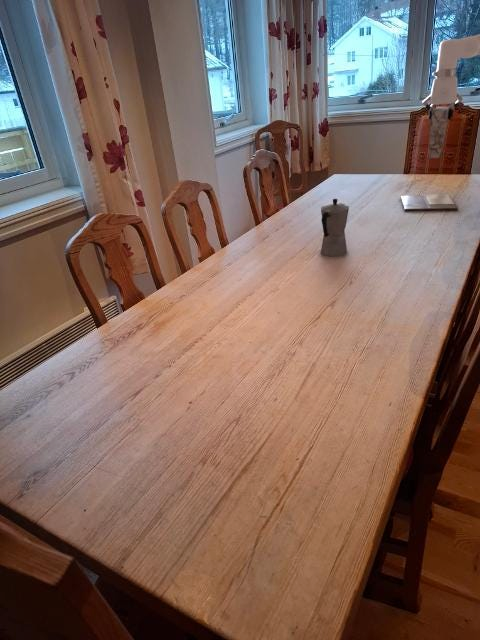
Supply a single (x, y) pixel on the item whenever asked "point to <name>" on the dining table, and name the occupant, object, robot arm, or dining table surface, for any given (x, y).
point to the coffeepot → (334, 229)
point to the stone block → (438, 131)
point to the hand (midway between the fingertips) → (440, 119)
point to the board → (428, 203)
